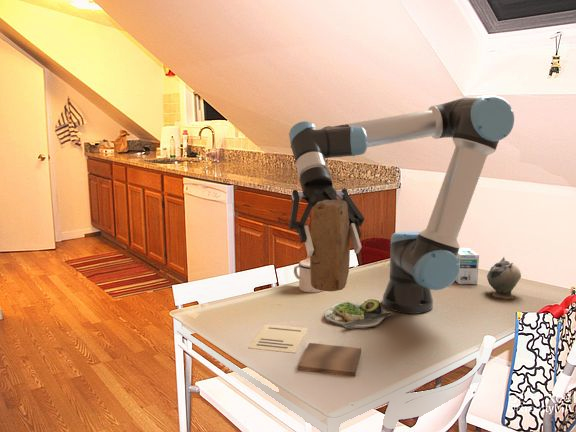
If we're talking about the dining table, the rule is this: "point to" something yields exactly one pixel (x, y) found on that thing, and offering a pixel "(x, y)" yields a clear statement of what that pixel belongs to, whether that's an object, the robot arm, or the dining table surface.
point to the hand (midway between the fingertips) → (335, 251)
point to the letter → (279, 338)
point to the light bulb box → (467, 266)
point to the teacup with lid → (305, 276)
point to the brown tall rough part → (330, 245)
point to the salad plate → (357, 314)
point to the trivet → (330, 359)
